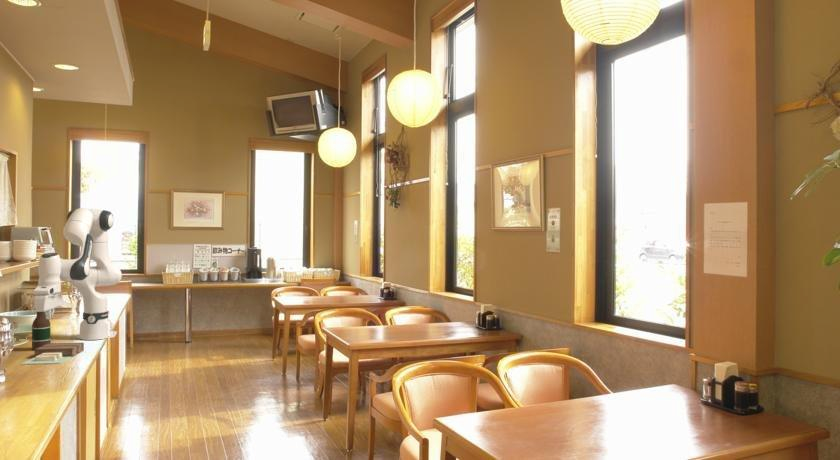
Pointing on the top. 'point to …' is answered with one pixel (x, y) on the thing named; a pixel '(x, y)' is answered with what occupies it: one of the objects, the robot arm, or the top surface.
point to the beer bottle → (40, 331)
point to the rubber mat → (58, 361)
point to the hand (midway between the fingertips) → (49, 318)
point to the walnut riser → (61, 349)
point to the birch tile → (48, 356)
